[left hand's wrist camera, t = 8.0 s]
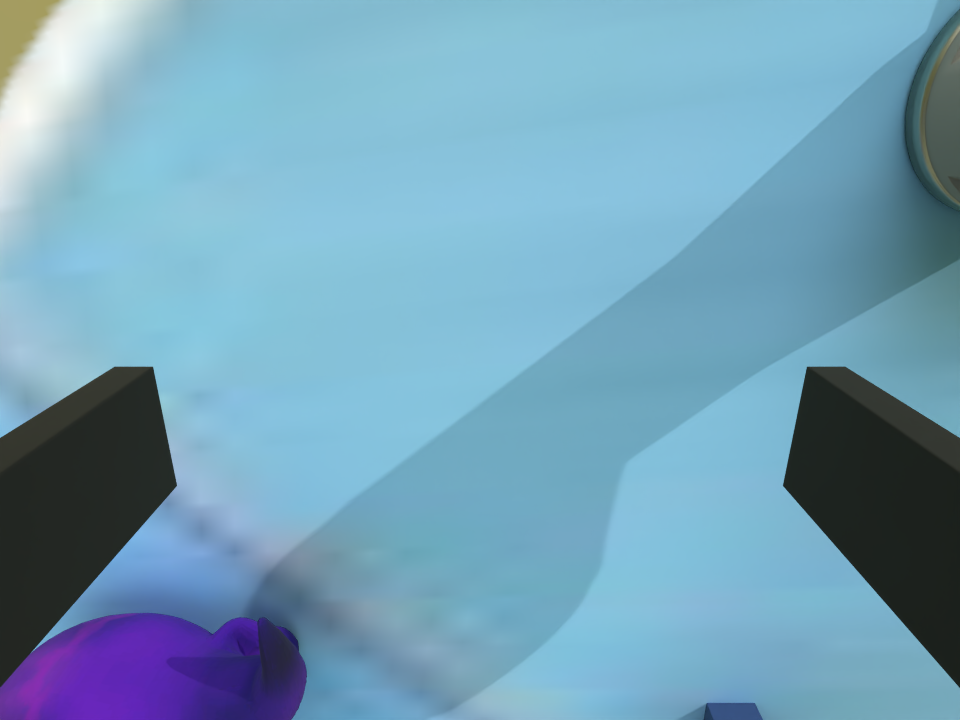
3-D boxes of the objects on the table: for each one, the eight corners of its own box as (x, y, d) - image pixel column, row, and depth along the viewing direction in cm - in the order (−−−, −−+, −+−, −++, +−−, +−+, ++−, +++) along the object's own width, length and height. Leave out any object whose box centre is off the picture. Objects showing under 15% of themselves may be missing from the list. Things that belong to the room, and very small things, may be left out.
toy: (385, 643, 55) (132, 675, 60) (297, 521, 45) (5, 572, 50) (348, 861, 42) (31, 877, 47) (214, 757, 32) (-165, 792, 38)
